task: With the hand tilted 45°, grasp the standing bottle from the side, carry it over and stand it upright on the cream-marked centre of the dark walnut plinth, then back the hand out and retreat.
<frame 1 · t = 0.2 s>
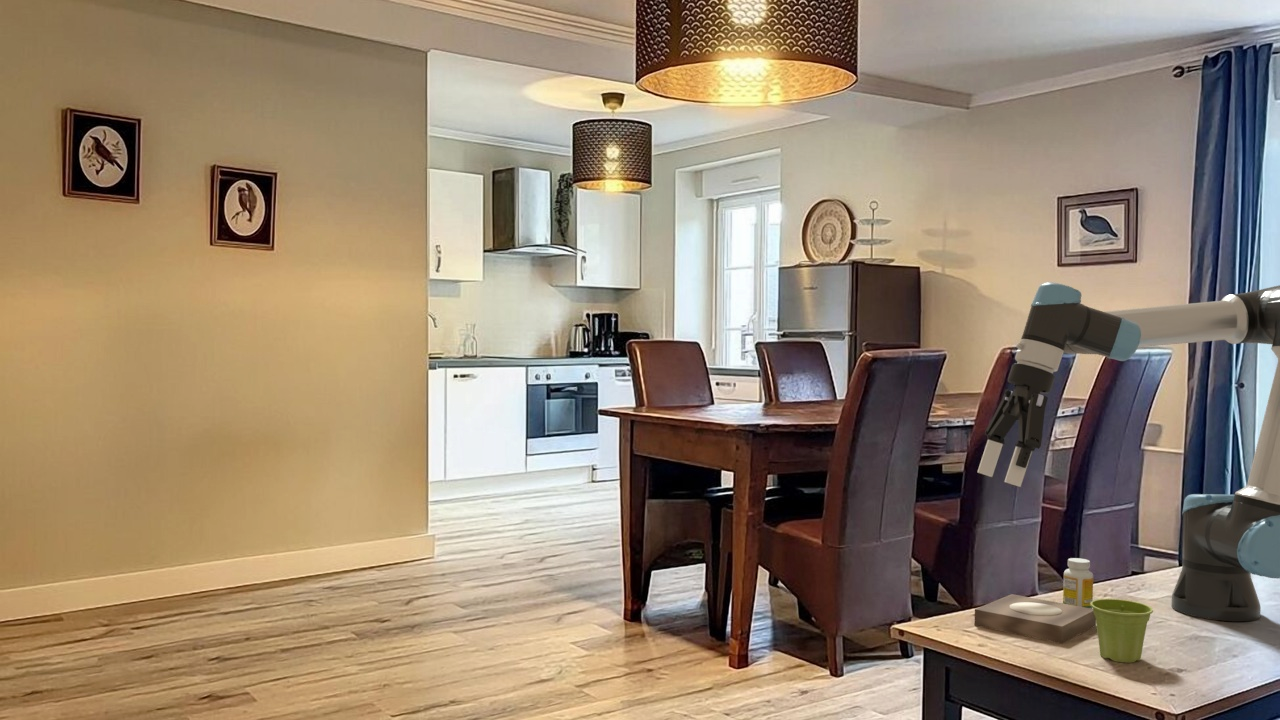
hand: (997, 479, 185), 27 cm above the table, tool tilted 20°, fingers open, 13 cm apart
supplement bottle: (1077, 609, 201), on the table
walnut plinth: (1035, 625, 189), on the table
plant pot: (1120, 658, 170), on the table
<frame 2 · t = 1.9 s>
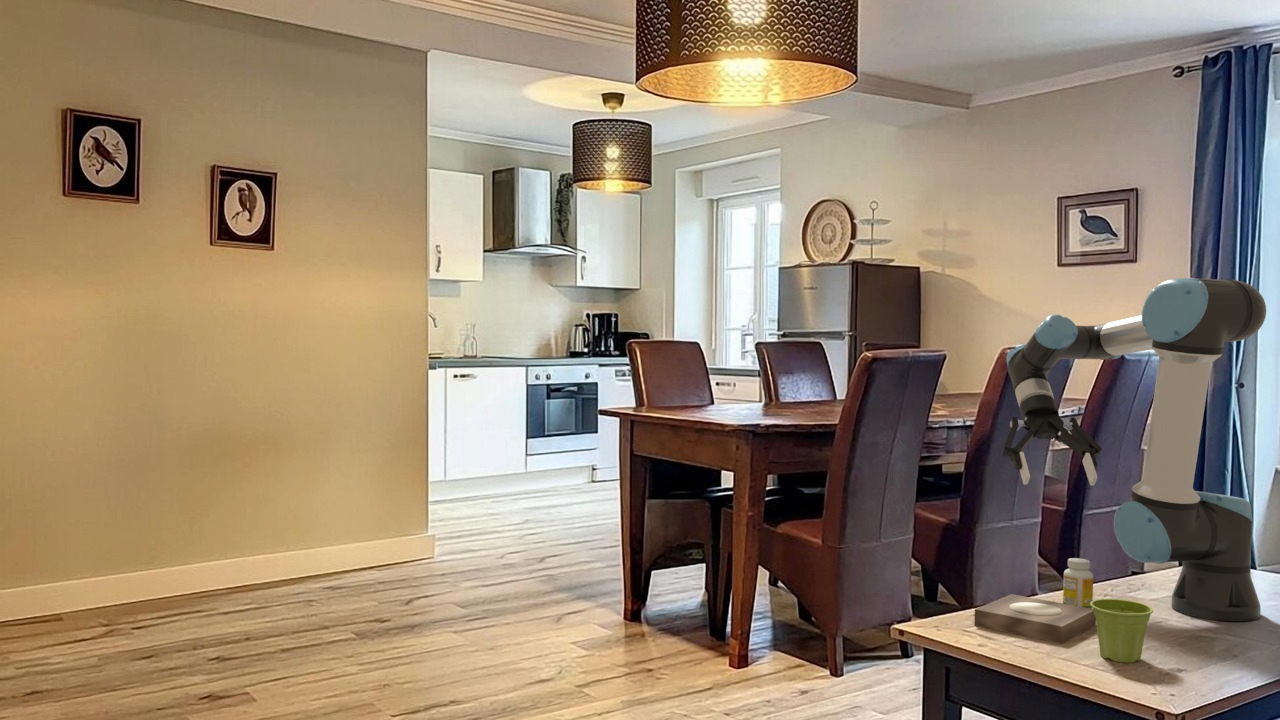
hand: (1060, 481, 211), 24 cm above the table, tool tilted 45°, fingers open, 13 cm apart
nothing on the table moved.
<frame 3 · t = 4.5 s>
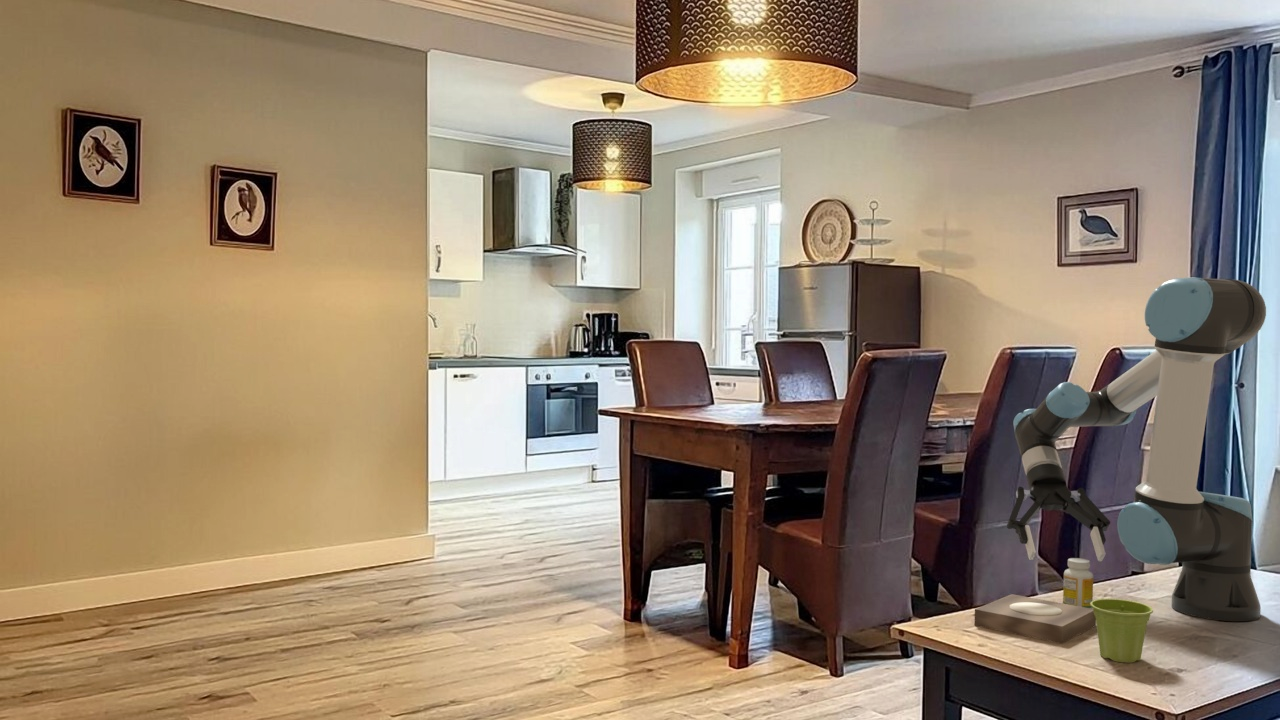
hand: (1067, 557, 206), 9 cm above the table, tool tilted 45°, fingers open, 13 cm apart
nothing on the table moved.
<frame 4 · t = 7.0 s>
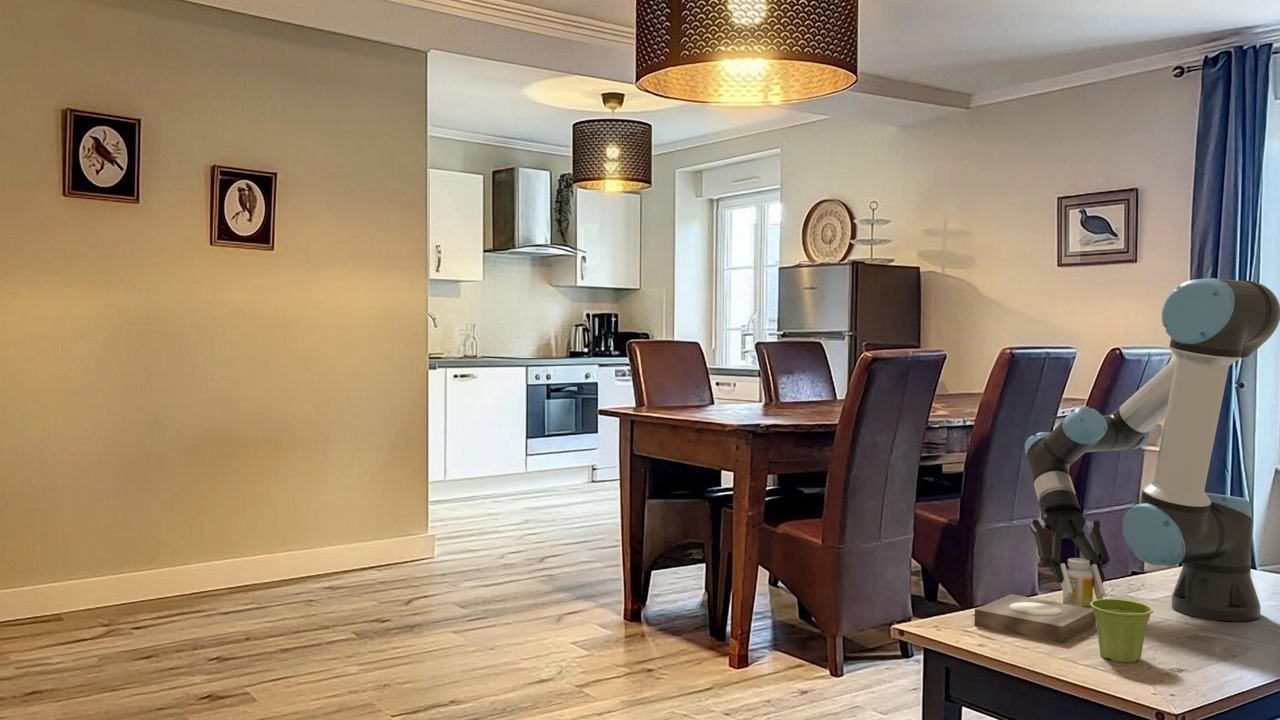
hand: (1085, 596, 198), 3 cm above the table, tool tilted 45°, fingers closed on supplement bottle, 5 cm apart
supplement bottle: (1077, 609, 201), on the table, touching gripper
everything else where it was.
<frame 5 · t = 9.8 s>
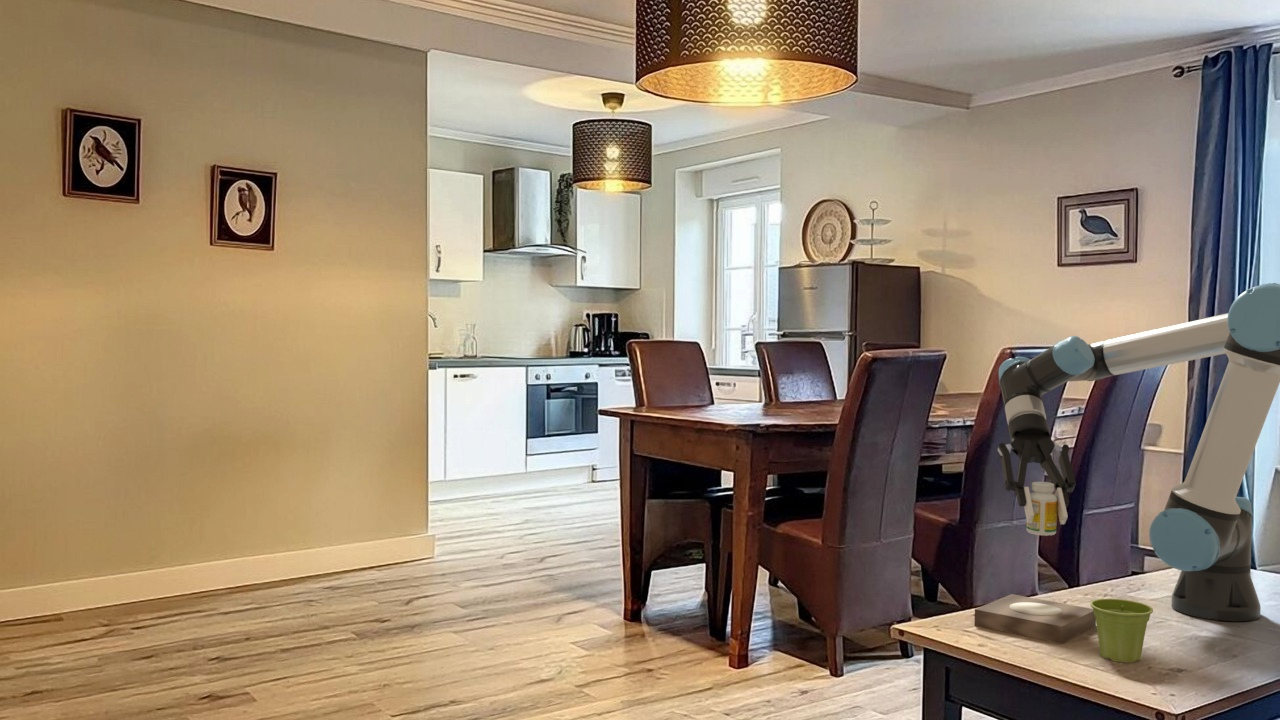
hand: (1047, 519, 193), 19 cm above the table, tool tilted 45°, fingers closed on supplement bottle, 5 cm apart
supplement bottle: (1041, 534, 196), point 15 cm above the table, touching gripper
everything else where it was.
when the fingers open (8 cm above the table, at t = 12.8 s): supplement bottle drops 1 cm, resting on walnut plinth.
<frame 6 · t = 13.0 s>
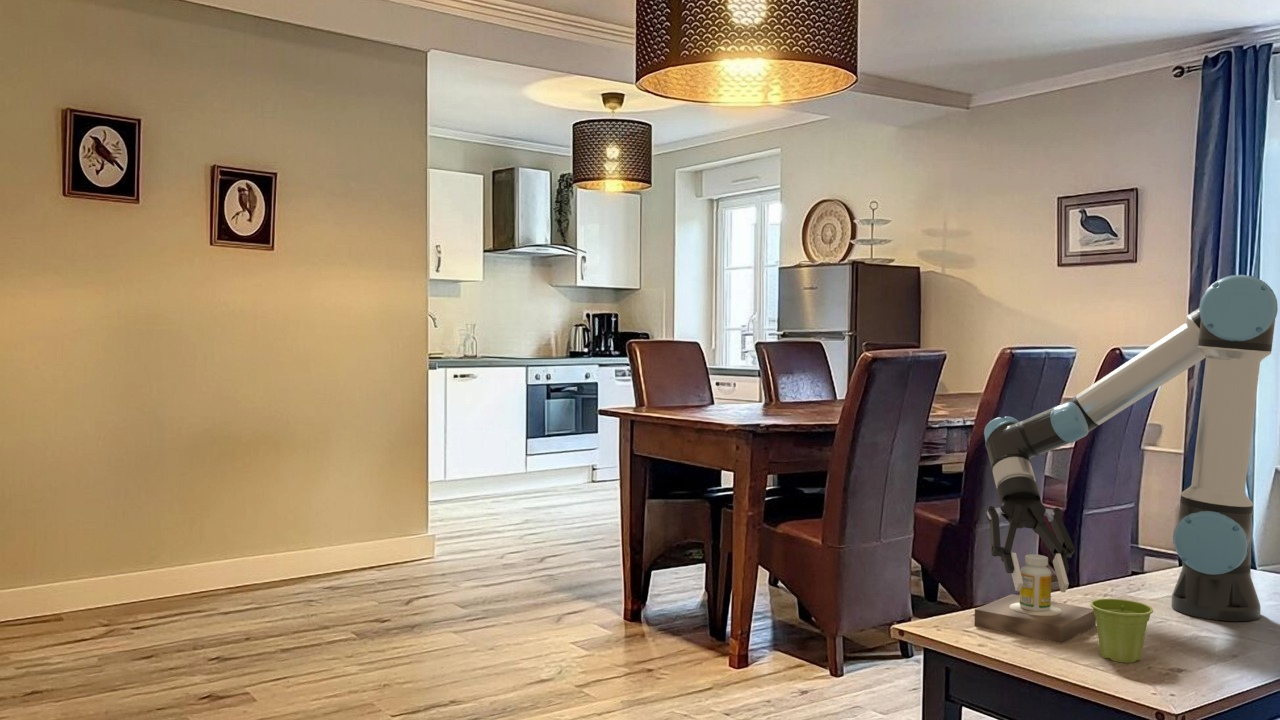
hand: (1042, 587, 185), 8 cm above the table, tool tilted 45°, fingers open, 7 cm apart
supplement bottle: (1034, 609, 189), point 3 cm above the table, touching walnut plinth
everything else where it was.
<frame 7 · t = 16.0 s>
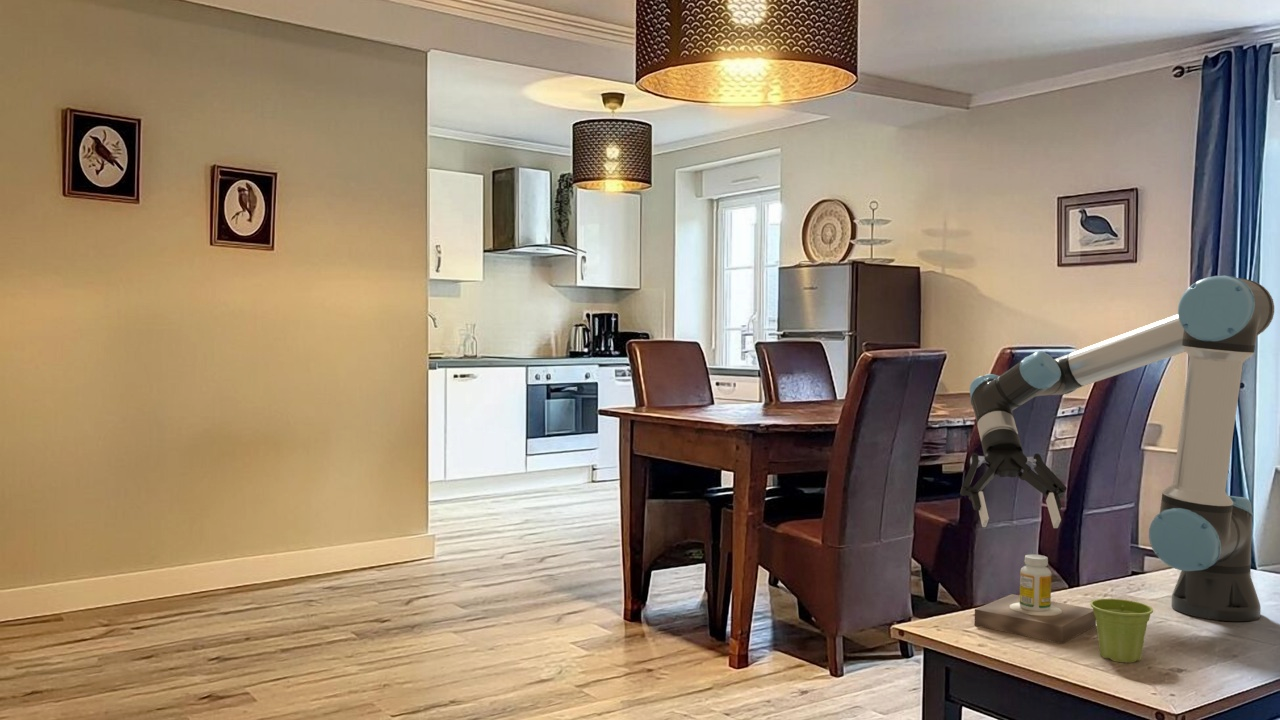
hand: (1021, 523, 198), 17 cm above the table, tool tilted 45°, fingers open, 13 cm apart
nothing on the table moved.
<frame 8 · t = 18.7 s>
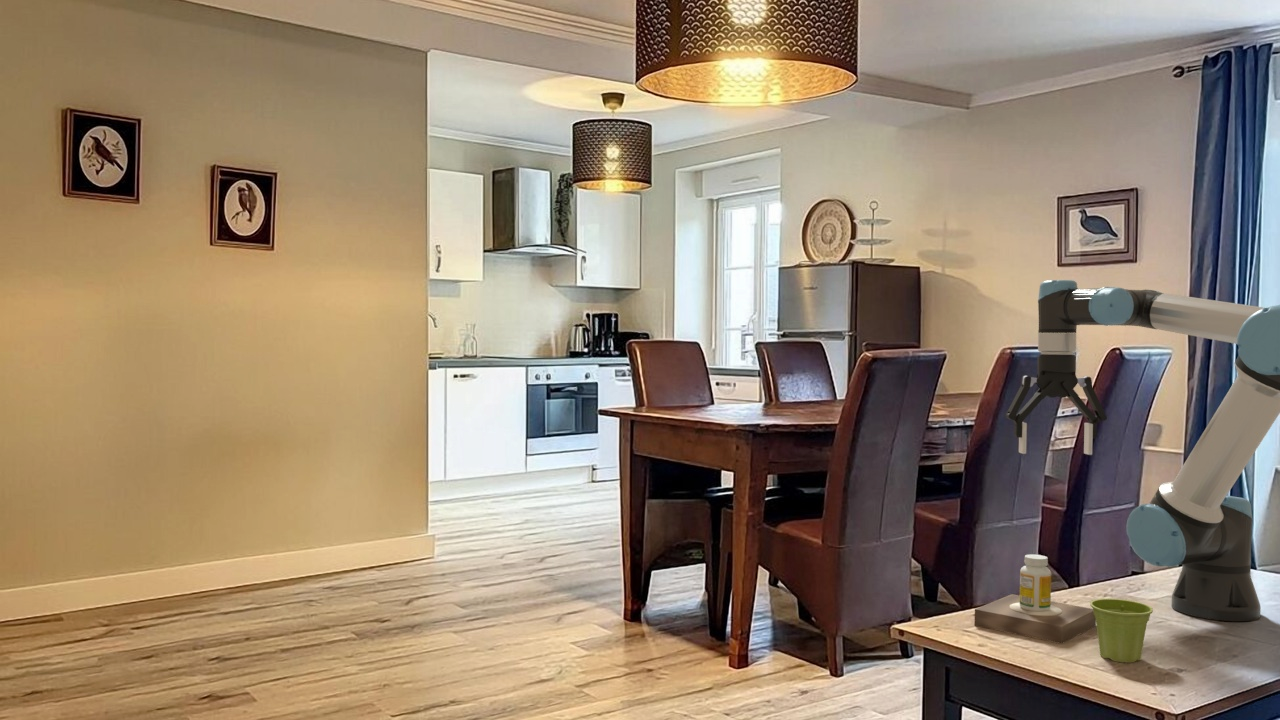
hand: (1055, 453, 217), 29 cm above the table, tool pointing down, fingers open, 13 cm apart
nothing on the table moved.
at the end: supplement bottle inside the target area on the walnut plinth (0.1 cm from its centre), point 3.0 cm above the walnut plinth's base; supplement bottle tilted 0°; the gripper is holding nothing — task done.
